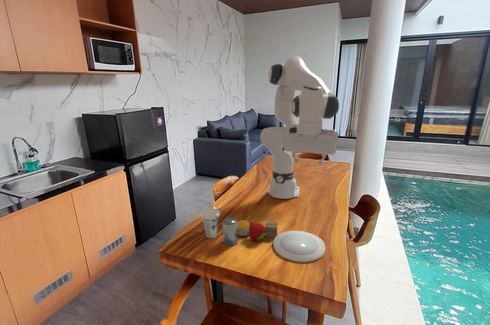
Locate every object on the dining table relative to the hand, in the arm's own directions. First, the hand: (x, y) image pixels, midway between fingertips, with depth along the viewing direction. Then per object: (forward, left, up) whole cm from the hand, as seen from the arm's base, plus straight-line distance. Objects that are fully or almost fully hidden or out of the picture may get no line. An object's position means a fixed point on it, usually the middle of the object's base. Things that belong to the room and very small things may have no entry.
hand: (308, 163), depth 105 cm
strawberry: (+10, -21, -25) cm, 34 cm away
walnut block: (+7, -13, -31) cm, 35 cm away
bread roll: (+9, -28, -32) cm, 43 cm away
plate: (+11, 0, -31) cm, 33 cm away
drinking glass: (+19, -26, -31) cm, 45 cm away
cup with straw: (+18, -36, -31) cm, 51 cm away
